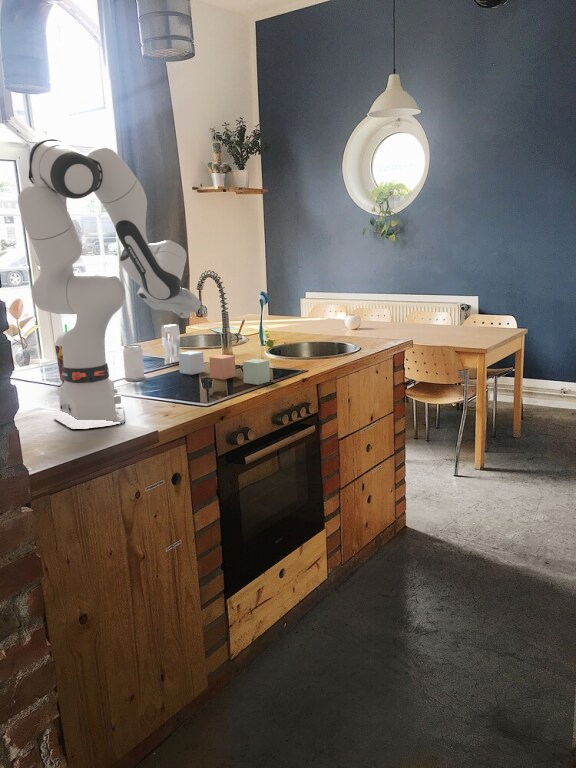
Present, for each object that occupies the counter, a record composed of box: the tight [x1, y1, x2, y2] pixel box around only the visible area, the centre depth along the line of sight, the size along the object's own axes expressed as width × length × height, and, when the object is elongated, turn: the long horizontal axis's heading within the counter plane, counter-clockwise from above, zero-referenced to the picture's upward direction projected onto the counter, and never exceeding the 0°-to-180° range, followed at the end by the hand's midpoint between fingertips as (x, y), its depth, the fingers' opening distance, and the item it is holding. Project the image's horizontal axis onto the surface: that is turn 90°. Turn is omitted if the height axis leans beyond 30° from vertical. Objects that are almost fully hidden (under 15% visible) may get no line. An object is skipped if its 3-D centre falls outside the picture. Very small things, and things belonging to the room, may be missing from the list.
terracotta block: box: [209, 354, 236, 380], centre depth 223 cm, size 6×6×7 cm
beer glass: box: [161, 323, 181, 365], centre depth 255 cm, size 7×7×15 cm
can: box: [122, 344, 145, 383], centre depth 227 cm, size 6×6×12 cm
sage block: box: [242, 358, 271, 385], centre depth 214 cm, size 6×6×7 cm
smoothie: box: [54, 323, 68, 384], centre depth 224 cm, size 8×8×20 cm
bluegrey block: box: [178, 350, 205, 376], centre depth 232 cm, size 6×6×7 cm
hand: (186, 316), depth 207 cm, fingers closed
